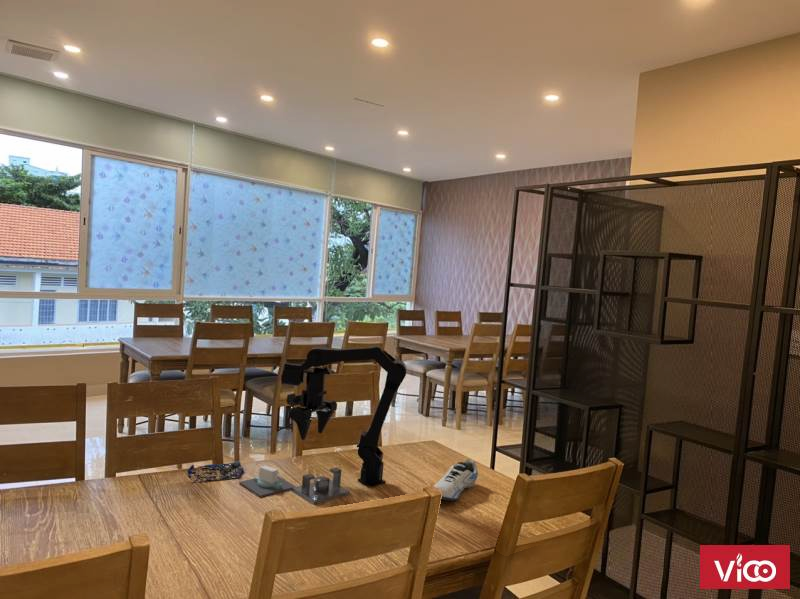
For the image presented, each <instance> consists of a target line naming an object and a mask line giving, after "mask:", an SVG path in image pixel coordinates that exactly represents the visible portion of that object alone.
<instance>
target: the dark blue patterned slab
mask: <svg viewBox="0 0 800 599" xmlns="http://www.w3.org/2000/svg"><path fill="white" fill-rule="evenodd" d="M229 464H231V465H229ZM223 465H224V466H223ZM202 467H209V468H202ZM193 468H194V469H195V465H194V464H192V465H190V467H189V468H188V469H187V475H188V478H189V479H190V481H192V480H193V479H191V478H192V475H194V474H198V475H194V476H197V477H196V478H197V479H196V480H194V481H193V482H191V484H195V483H197V482H198V481H199V483H201V481H202V483H203V482H207V481H209V480H210V481H212V480H213V481H219V479H220V480H222V479H226V480H228V479H230V480H231V479H238V478H239V477H240V475H241V473H242V471H243V470H244V467H242V465H241V461H239V460H237V461H233V462H230V463H219V464H218V463H212V464H205V465H201V466H197V468H198V469H197V470H196V471H191V470H192V469H193ZM201 468H202V469H201ZM210 468H212V469H210ZM204 469H208V470H209V472H208V470H206V471H205V470H204ZM200 470H201V471H205V474H206V473H207V475H208V476H205V475H204V474H203V473H201V472H200ZM197 472H198V473H197ZM200 473H201V474H202V475H204V476H205V477H199V476H200V475H201V474H200ZM190 474H192V475H190ZM199 474H200V475H199ZM209 474H210V475H209ZM215 475H216V476H215ZM194 476H193V477H194ZM217 477H219V478H217ZM200 478H202V479H200Z"/></svg>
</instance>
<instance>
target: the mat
mask: <svg viewBox="0 0 800 599" xmlns="http://www.w3.org/2000/svg"><path fill="white" fill-rule="evenodd" d="M277 479H278V483H280V484H282V488H280V489H277V488H274V487H273V488H262V487H259V486H258V485H257V484H258V482H255V481H254V478H249V479H245V480H241V481H239V485H240V486H242V487H243V488H244V489H246V490H248V491H249V492H251V493H252V494H254V495H256V496H257V497H258V498H264V497H269V496H272V495H275V494H276V495H277V494H281V493H283V492H288V491H292V488H293V487H297V486H296V485H295V484H293V483H291V482H289V481H287V480H286V479H283V477H280V476H279V475H278V478H277Z"/></svg>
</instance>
